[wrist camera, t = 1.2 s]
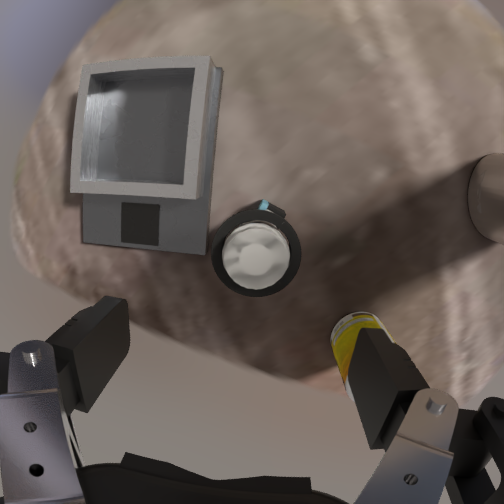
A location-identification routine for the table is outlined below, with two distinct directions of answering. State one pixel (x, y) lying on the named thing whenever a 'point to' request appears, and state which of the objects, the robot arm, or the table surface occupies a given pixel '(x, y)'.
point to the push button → (256, 251)
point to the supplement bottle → (351, 340)
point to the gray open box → (147, 151)
